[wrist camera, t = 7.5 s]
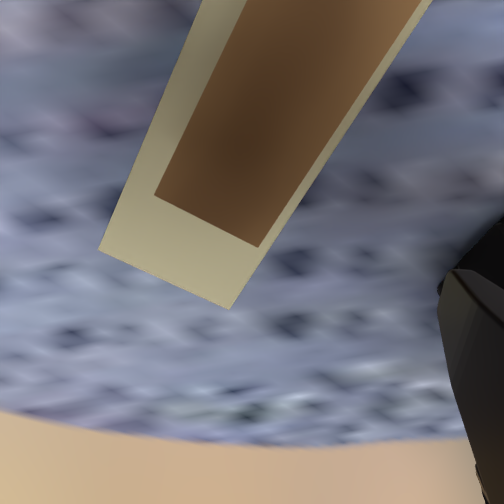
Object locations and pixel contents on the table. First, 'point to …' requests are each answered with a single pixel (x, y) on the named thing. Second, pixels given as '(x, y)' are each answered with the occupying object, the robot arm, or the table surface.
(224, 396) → the table surface
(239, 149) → the slat
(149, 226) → the board
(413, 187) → the table surface
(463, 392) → the robot arm
